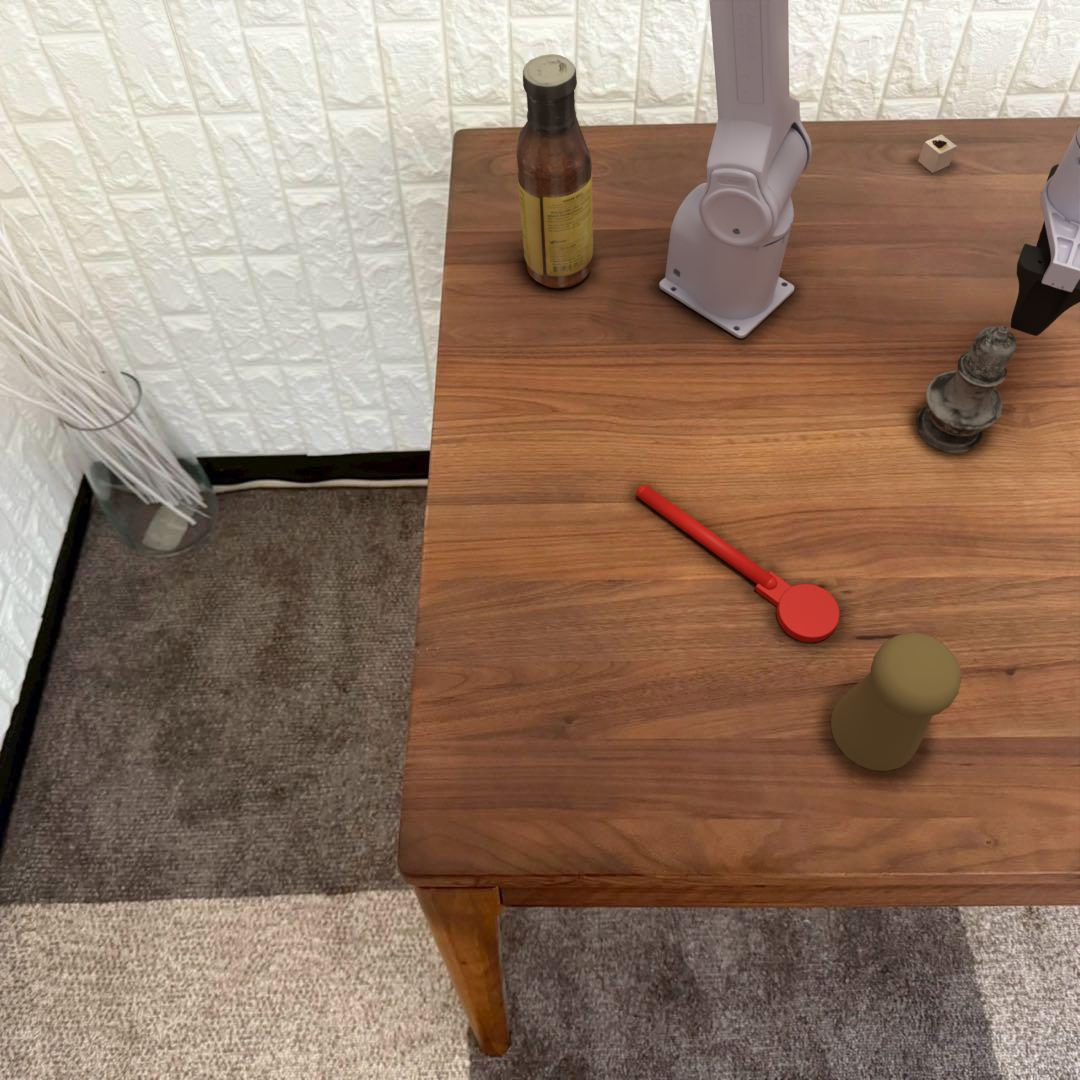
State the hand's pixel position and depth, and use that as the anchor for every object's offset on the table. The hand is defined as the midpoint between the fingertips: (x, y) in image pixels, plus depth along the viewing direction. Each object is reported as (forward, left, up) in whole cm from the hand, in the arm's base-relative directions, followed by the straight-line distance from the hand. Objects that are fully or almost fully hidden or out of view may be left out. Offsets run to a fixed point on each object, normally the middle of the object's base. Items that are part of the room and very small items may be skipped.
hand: (1036, 294), depth 77 cm
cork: (+10, -33, -10) cm, 36 cm away
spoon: (-5, -29, -10) cm, 31 cm away
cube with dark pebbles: (-18, +20, -10) cm, 29 cm away
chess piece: (0, -7, -10) cm, 12 cm away
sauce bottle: (-36, -15, -10) cm, 40 cm away
